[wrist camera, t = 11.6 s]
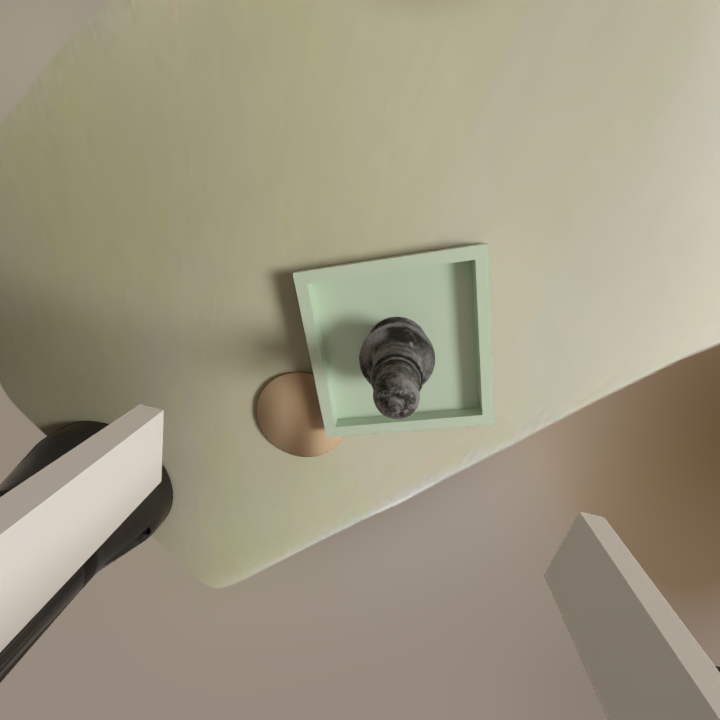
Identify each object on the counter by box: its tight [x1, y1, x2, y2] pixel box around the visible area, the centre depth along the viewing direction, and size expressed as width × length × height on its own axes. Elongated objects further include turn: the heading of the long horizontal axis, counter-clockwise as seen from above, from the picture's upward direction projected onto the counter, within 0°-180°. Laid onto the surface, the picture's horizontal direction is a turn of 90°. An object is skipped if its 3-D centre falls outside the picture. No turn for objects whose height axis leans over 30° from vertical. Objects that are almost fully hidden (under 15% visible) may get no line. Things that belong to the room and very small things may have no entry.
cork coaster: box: [256, 372, 344, 457], centre depth 34 cm, size 9×9×1 cm
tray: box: [293, 243, 495, 438], centre depth 30 cm, size 15×15×2 cm
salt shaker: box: [359, 317, 435, 419], centre depth 25 cm, size 6×6×12 cm
